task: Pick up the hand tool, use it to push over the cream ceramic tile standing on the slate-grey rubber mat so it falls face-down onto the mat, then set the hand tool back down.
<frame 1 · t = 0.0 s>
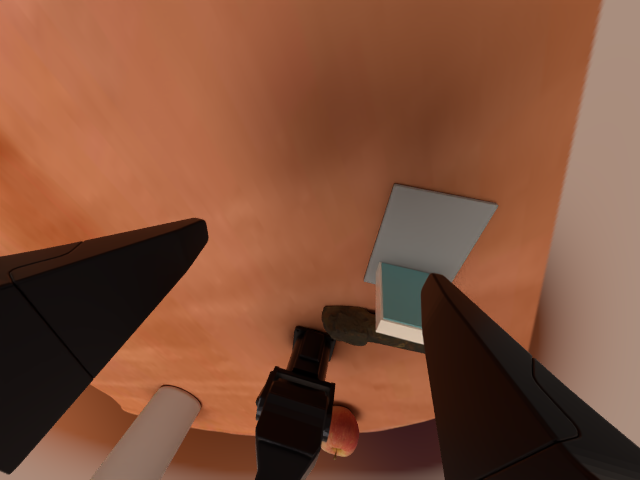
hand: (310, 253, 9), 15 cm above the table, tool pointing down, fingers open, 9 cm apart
mat: (419, 246, 24), on the table
hand tool: (392, 320, 31), on the table
cylinder vase: (181, 396, 62), on the table
tile: (408, 274, 25), point 1 cm above the table, touching mat
apple: (340, 408, 47), on the table
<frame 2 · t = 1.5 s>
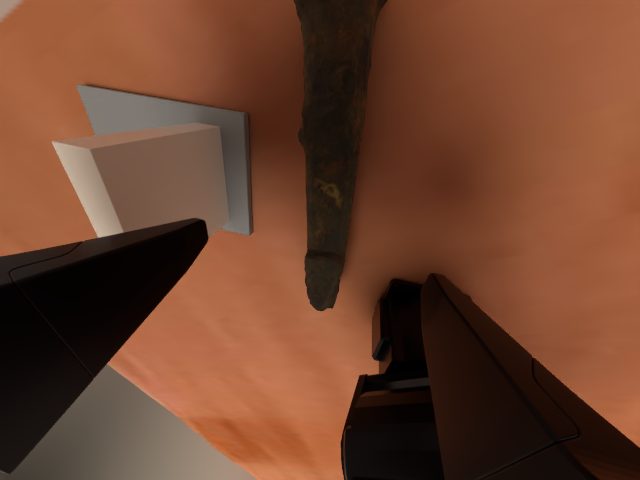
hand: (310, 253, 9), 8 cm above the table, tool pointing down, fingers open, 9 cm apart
mat: (177, 166, 17), on the table
hand tool: (343, 183, 16), on the table
tile: (215, 177, 17), point 1 cm above the table, touching mat
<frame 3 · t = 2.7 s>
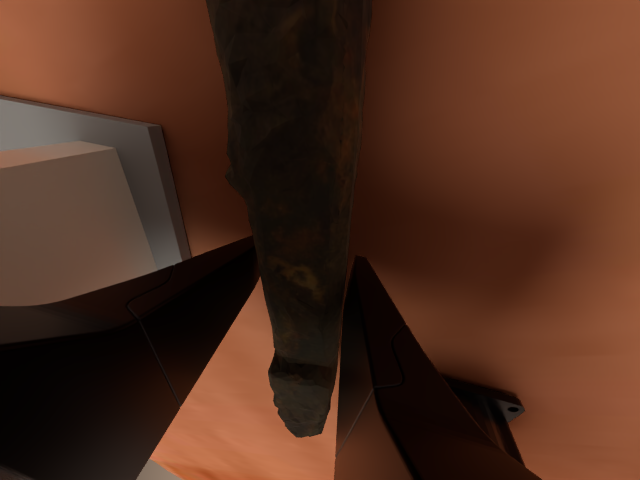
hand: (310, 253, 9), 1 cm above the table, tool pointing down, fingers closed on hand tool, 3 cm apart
mat: (78, 202, 12), on the table
hand tool: (332, 235, 10), on the table, touching gripper
tile: (127, 222, 11), point 1 cm above the table, touching mat
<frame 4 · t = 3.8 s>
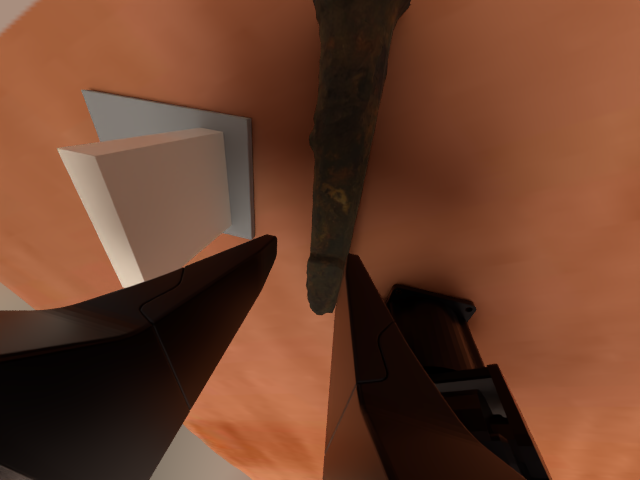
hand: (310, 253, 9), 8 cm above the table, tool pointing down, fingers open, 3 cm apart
mat: (181, 170, 18), on the table
hand tool: (349, 188, 16), on the table
tile: (217, 181, 17), point 1 cm above the table, touching mat
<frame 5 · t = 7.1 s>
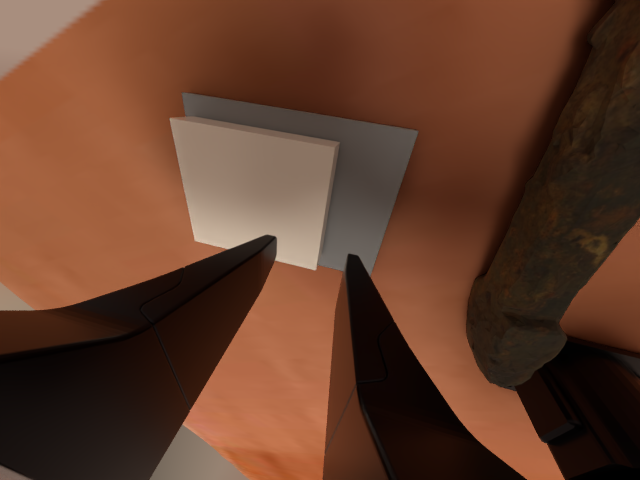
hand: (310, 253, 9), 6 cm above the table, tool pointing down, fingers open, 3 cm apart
mat: (291, 193, 14), on the table
hand tool: (536, 220, 12), on the table
tile: (326, 212, 12), point 2 cm above the table, tilted 90°, touching mat
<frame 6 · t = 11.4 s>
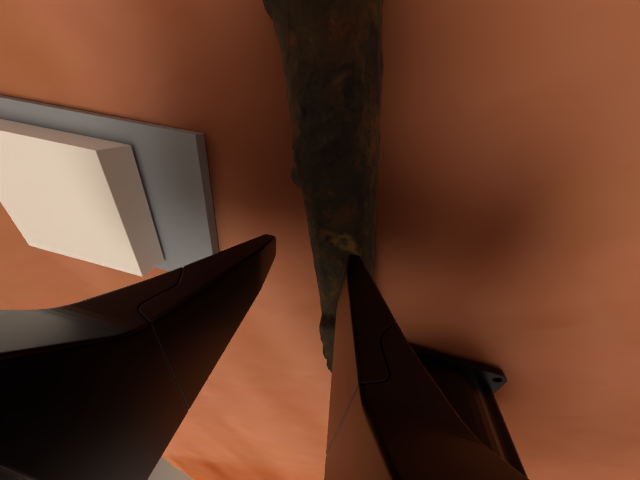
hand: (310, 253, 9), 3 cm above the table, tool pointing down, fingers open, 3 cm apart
mat: (123, 197, 14), on the table
hand tool: (358, 219, 12), on the table
tile: (137, 217, 12), point 2 cm above the table, tilted 90°, touching mat
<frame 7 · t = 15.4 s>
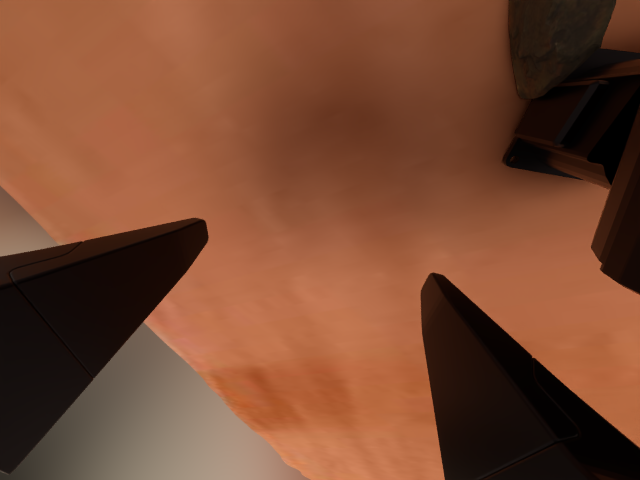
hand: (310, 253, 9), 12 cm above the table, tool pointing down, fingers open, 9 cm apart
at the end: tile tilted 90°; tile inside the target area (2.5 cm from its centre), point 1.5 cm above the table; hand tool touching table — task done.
